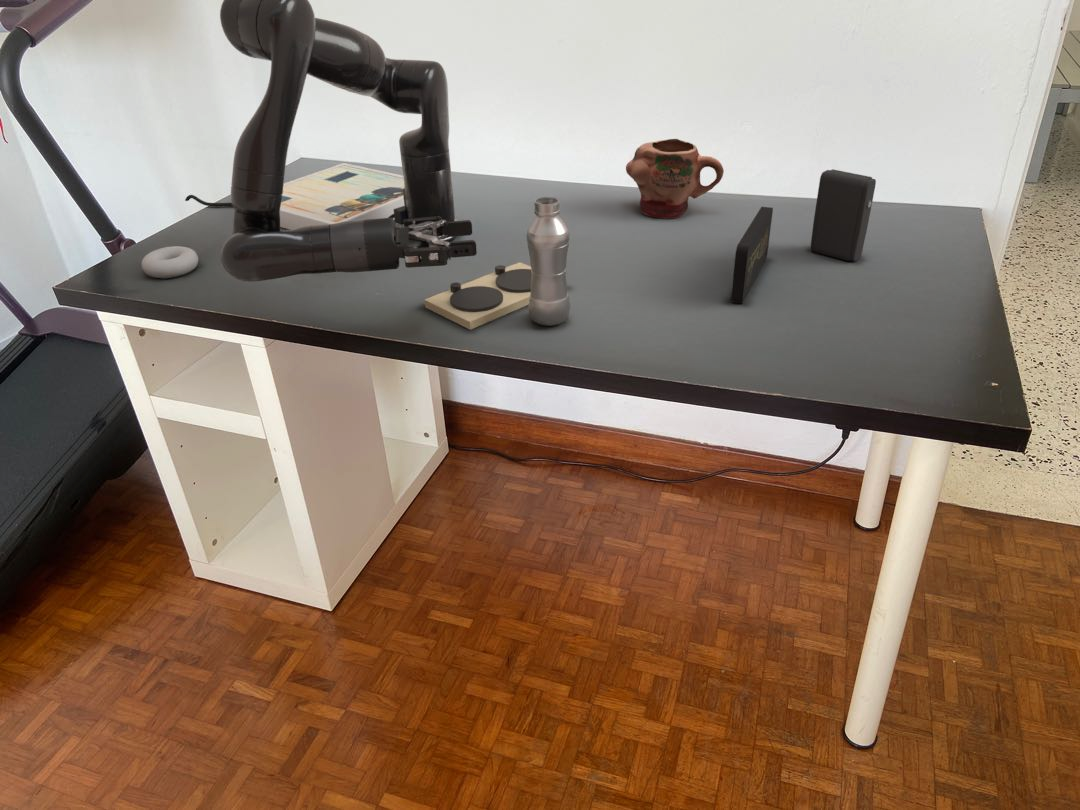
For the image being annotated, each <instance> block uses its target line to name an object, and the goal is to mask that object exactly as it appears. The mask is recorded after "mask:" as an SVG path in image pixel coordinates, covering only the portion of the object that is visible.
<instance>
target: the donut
mask: <svg viewBox="0 0 1080 810" xmlns="http://www.w3.org/2000/svg"><path fill="white" fill-rule="evenodd" d="M141 260H142V261H141V269H142V271H143V272H144V273H145V274H146V275H148V276H149V277H151V278H155V279H172V278H177V277H182V276H184V275H187V274H188V273H190V272H192V271H193V270H195V268H196V267H197V266H198V263H199V256H198V254H197V252H196V251H195V250H194V249H191V247H187V246H181V245H174V246H166V247H160V248H157V249H155V250H151V252H149V253H147V254H145V255H144V257H143V258H142V259H141Z"/></svg>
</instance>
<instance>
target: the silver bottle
mask: <svg viewBox="0 0 1080 810" xmlns="http://www.w3.org/2000/svg"><path fill="white" fill-rule="evenodd" d="M533 202H534V209H533V214H534V215H535V217H534V219H533V220H532V222H531V223H530V224H529V226H528V228H527V232H526V243H527V249H528V253H529V261H530V262H529V263H530V266H531V275H532V277H531V293H530V297H529V304H528V305H527V310H528V312H529V313H528V314H529V317H530V319H531V320H532V322H534V323H535V324H537V325H541V326H546V327H547V326H557V325H560V324H562V323H564V322H565V321H566V320H567V318H568V317H569V315H570V309H571V302H570V295H569V293H568V285H567V282H568V281H567V261H568V260H567V258H568V251H569V246H570V236H571V235H570V234H571V233H570V230H569V227H568V225H567V224H566V223H565V221H564V220H563V219H562V218H561V216H560V214H561V208H560V199H559V198H557V197H553V196H541V197H538V198H535V199H534V201H533Z"/></svg>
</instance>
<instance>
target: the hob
mask: <svg viewBox="0 0 1080 810" xmlns="http://www.w3.org/2000/svg"><path fill="white" fill-rule="evenodd" d="M531 277H532V275H531V265H528V264H525V263H523V262H520V261H519V262H517V263H514V264H511V265H508V266H505V265H502V264H498V265H495V267H494V271H493V272H490V273H489V274H486V275H483V276H481V277H478V278H475V279H473V280H471V281H467V282H466V283H463V284H462V283H461V282H455V281H454V282H451V283H450V285H449V287H450V289H447V290H445V291H443V292H440V293H437V294H435V295H432V296H429V297H427V298H425V299H424V308H425V309H427V310H430V311H431V312H433V313H435V314H436V315H437V314H438V315H440V317H441V316H442V317H443V318H445V319H448V320H449V321H451V322H454V323H455V324H458V325H460V326H461V327H464V328H465V329H468V330H469V331H472V330H473V329H475V328H478V327H480V326H482V325H485V324H487V323H491V322H492V321H494V320H497V319H498V318H501V317H503V316H506V315H508V314H510V313H513V312H515V311H517V310H520V309H523V308H524V307H526V306H527V307H528V304H529V297H530V293H531Z"/></svg>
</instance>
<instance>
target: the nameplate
mask: <svg viewBox="0 0 1080 810" xmlns="http://www.w3.org/2000/svg"><path fill="white" fill-rule="evenodd" d="M773 210H774V207H768V206H761V207H760V208H759V210H758V211H757V213H756V215H755V216H754V218H753V220H752V221H751V223H750V224H749V226H748V228H747V229H746V230H745V232H744V234H743V235H742V237H741V239H740V240H739V242H738V243H737V246H736V250H735V256H734V257H735V258H734V265H733V276H732V285H731V286H732V287H731V295H730V302H732V303H737V304H744V302H745V301H746V298H747V297H748V295H749V294H750V292H751V289H752V288H753V286H754V284H755V282H756V280H757V278H758V277H759V274H760V272H761V271H762V269H763V267H764V265H765V263H766V261H767V258H768V251H769V245H770V236H771V228H772V220H773V212H774V211H773Z"/></svg>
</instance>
